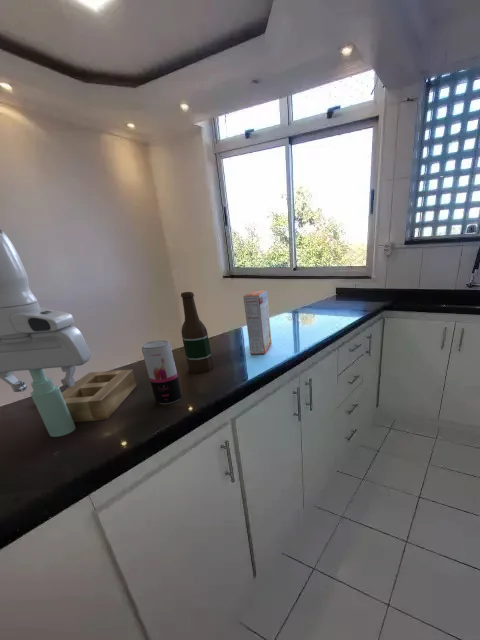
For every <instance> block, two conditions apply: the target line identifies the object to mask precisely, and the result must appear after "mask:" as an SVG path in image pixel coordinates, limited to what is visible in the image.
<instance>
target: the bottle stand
mask: <svg viewBox="0 0 480 640" xmlns="http://www.w3.org/2000/svg"><path fill="white" fill-rule="evenodd" d="M137 384H138V383H137V380H136V378H135V374H134V370H133V369H132V368H130V369H117V370H105V371H93V372H92V371H91V372H88V373H86V374H85V375H83V376H82V377H81V378H79V379H78V380H77V381H75V385H74V386H73V387H67V388H66V389H65V390H64V391H61V393H62V396H63V398H64V400H65V403H66V405H67V408H68V410H69V412H70V415H71V417H72V420H73V422H74V423H83V422H94V421H103V420H104V421H105V420H109V418H111V416H112V415H113V413H115V412H116V410H117V409H118V408H119V407H120V405H121V404H122V403H123V402H124V401H125V400H126V399H127V397H128V396H130V394H131V393H132V391H134V389H135V388H136V387H137Z"/></svg>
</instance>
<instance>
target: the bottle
mask: <svg viewBox="0 0 480 640" xmlns="http://www.w3.org/2000/svg"><path fill="white" fill-rule="evenodd" d="M28 372H29V374H30V376H31V378H32V380H33V381H31V382H30V385H31V387H32V391H31V392H30V396H31V398H32V400H33V403H34V404H35V406H36V407H35V408H36V409H37V411H38V413H39V415H40V417H41V419H42V422H43V424H44V427H45V428H46V430H47V433H48V434H49V437H52V438H58V437H59V438H60V437H63V436H67V435H69V434H71V433H72V432H74V431H75V430H76V428H77V427H76V424H75V422H73V420H72V417H71V415H70V412H69V410H68V408H67V405H66V403H65V400H64V398H63V396H62V391H61V388H60V386H59V385H55V384H54V382H53V380H52V378H50V377H47V375H46V373H45V369H34V370H28Z"/></svg>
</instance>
